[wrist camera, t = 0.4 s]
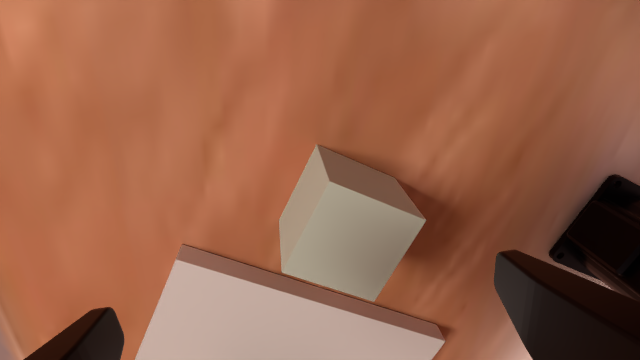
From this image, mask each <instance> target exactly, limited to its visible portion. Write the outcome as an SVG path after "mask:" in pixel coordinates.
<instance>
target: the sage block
mask: <svg viewBox="0 0 640 360" xmlns="http://www.w3.org/2000/svg"><path fill="white" fill-rule="evenodd" d="M425 222H426V219H425V218H424V216H423V215H422V214H421V212H420V211H419V210H418V208H417V207H416V206H415V204H414V203H413V202H412V200H411V199H410V198H409V196H408V195H407V194H406V192H405V191H404V190H403V188H402V187H401V186H400V184H399V183H398V182H397V180H396V179H395V178H394V177H391V176H389V175H387V174H384V173H382V172H380V171H377V170H375V169H373V168H370V167H368V166H366V165H363V164H361V163H359V162H356V161H354V160H352V159H349V158H347V157H345V156H342V155H340V154H338V153H335V152H333V151H331V150H328V149H326V148H324V147H322V146H319V145H317V144H316V147H315V149H314V151H313V153H312V155H311V157H310V159H309V161H308V163H307V165H306V167H305V169H304V171H303V173H302V175H301V177H300V179H299V181H298V183H297V185H296V187H295V189H294V191H293V193H292V195H291V197H290V199H289V201H288V203H287V205H286V207H285V209H284V211H283V213H282V215H281V217H280V219H279V229H280V249H281V269H282V273H285V274H288V275H291V276H295V277H298V278H301V279H304V280H307V281H310V282H313V283H317V284H320V285H323V286H326V287H329V288H332V289H335V290H338V291H342V292H345V293H348V294H351V295H354V296H357V297H360V298H364V299H367V300H370V301H373V302H374V301H375V299H376V298H377V296H378V295H379V293H380V292H381V290H382V289H383V287H384V285H385V284H386V282H387V281H388V279H389V278H390V276H391V275H392V273H393V271H394V270H395V268H396V267H397V265H398V264H399V262H400V261H401V259H402V257H403V256H404V254H405V253H406V251H407V250H408V248H409V247H410V245H411V243H412V242H413V240H414V239H415V237H416V236H417V234H418V233H419V231H420V229H421V228H422V226H423V225H424V223H425Z"/></svg>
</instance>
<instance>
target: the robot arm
mask: <svg viewBox="0 0 640 360" xmlns="http://www.w3.org/2000/svg"><path fill="white" fill-rule="evenodd" d="M615 182H616V183H615ZM614 183H615V184H614ZM549 256H550V257H551V258H552V259H553V260H554V261H555V262H558V263H560V264H562V265H565V266H567V267H570V268H572V269H574V270H577V271H579V272H582V273H584V274H587V275H589V276H591V277H594V278H596V279H599V280H601V281H603V282H604V283H605V284H606V285H607V286H609V287H610V288H611V289H612V290H611V289H608V288H606V287H604V286H601V285H599V284H596V283H594V282H592V281H589V280H587V279H585V278H582V277H580V276H577V275H575V274H573V273H570V272H568V271H565V270H563V269H561V268H558V267H556V266H553V265H551V264H549V263H546V262H544V261H541V260H539V259H537V258H534V257H532V256H530V255H527V254H525V253H522V252H520V251H518V250H508V251H501V252H499V253H498V254H497V256H496V263H495V273H494V285H495V289H496V291H497V293H498V295H499V297H500V299H501V301H502V303H503V305H504V307H505V309H506V311H507V313H508V315H509V317H510V319H511V321H512V323H513V324H514V326H515V328H516V330H517V332H518V334H519V336H520V338H521V340H522V342H523V344H524V346H525V347H526V349H527V351H528V352H529V354H530V356H531V357H532V359H533V360H640V186H638V185H636V184H634V183H633V182H631V181H629V180H627V179H625V178H623V177H621V176H619V175H616V174H615V175H611V176H609V177H608V178H607V179H606V180H605V182H604V183H603V184H602V186H601V187H600V188H599V189H598V191H597V192H596V193H595V194H594V196H593V197H592V198H591V200H590V201H589V202H588V203H587V205H586V206H585V207H584V208H583V210H582V211H581V212H580V213H579V215H578V216H577V217H576V219H575V220H574V221H573V222H572V224H571V225H570V226H569V227H568V229H567V230H566V231H565V232H564V234H563V235H562V236H561V238H560V239H559V240H558V241H557V243H556V244H555V245H554V246H553V248H552V249H551V250H550V252H549ZM613 290H614V291H613ZM123 346H124V334H123V331H122V328H121V326H120V323H119V321H118V318H117V316H116V313H115V311H114V310H113V309H112V308H110V307H105V308H98V309H93V310H91V311H89V312H88V313H86V314H85V315H84V316H82V317H81V318H80V319H78V320H77V321H75V322H74V323H73V324H71V325H70V326H69V327H67V328H66V329H65V330H63V331H62V332H61V333H59V334H58V335H56V336H55V337H54V338H52V339H51V340H50V341H48V342H47V343H46V344H44V345H43V346H42V347H40V348H39V349H37V350H36V351H35V352H33V353H32V354H31V355H29V356H28V357H27V358H25V359H24V360H120V359H121V355H122V351H123Z"/></svg>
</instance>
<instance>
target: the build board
mask: <svg viewBox="0 0 640 360" xmlns="http://www.w3.org/2000/svg"><path fill="white" fill-rule="evenodd" d="M444 343H445V339H444V338H443V336H442V334H441V332H440V330H439V328H438V326H437V325H436V324H433V323H430V322H427V321H424V320H420V319H417V318H414V317H411V316H408V315H405V314H401V313H398V312H395V311H392V310H389V309H386V308H382V307H379V306H376V305H373V304H370V303H367V302H363V301H360V300H357V299H354V298H351V297H348V296H344V295H341V294H338V293H335V292H332V291H329V290H326V289H322V288H319V287H316V286H313V285H310V284H307V283H303V282H300V281H297V280H294V279H291V278H288V277H284V276H281V275H278V274H275V273H272V272H269V271H265V270H262V269H259V268H256V267H253V266H250V265H246V264H243V263H240V262H237V261H234V260H231V259H227V258H224V257H221V256H218V255H215V254H212V253H208V252H205V251H202V250H199V249H196V248H193V247H189V246H186V245H183V244H182V245H181V248H180V250H179V253H178V255H177V258H176V260H175V262H174V265H173V267H172V270H171V272H170V275H169V277H168V279H167V282H166V284H165V287H164V289H163V292H162V294H161V297H160V299H159V301H158V304H157V306H156V309H155V311H154V314H153V316H152V319H151V321H150V323H149V326H148V328H147V331H146V333H145V336H144V338H143V340H142V343H141V345H140V348H139V350H138V353H137V355H136V358H135V360H432V359H433V357H434V356H435V355H436V353H437V352H438V351H439V349H440V348H441V347H442V345H443V344H444Z"/></svg>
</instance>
